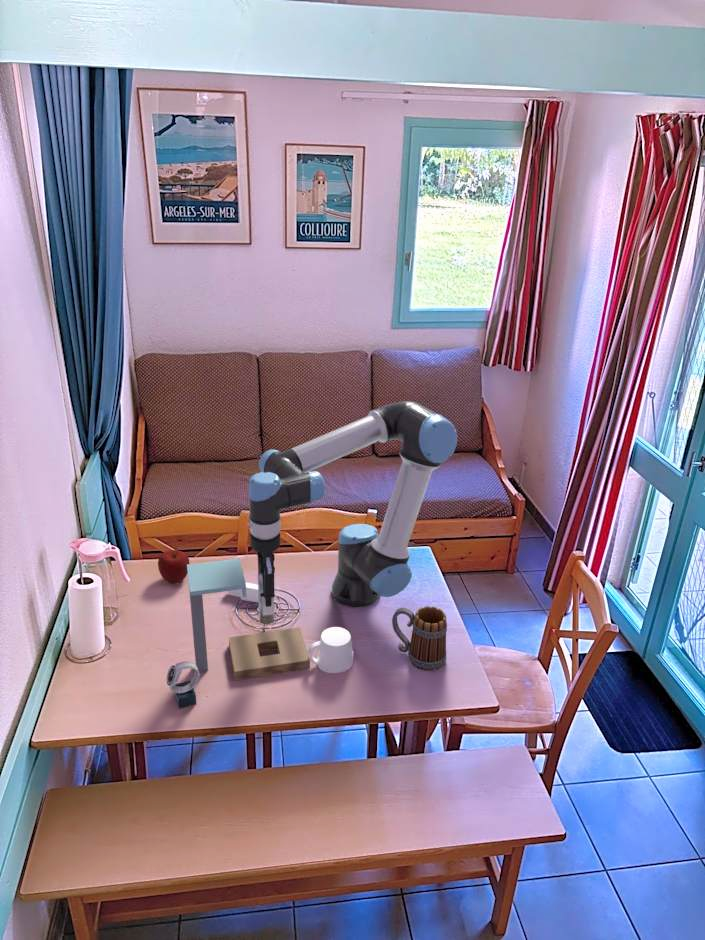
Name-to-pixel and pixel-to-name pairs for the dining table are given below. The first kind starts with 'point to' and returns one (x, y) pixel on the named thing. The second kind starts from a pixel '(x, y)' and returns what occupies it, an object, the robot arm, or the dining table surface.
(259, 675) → the socket board
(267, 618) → the peg
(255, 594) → the napkin holder
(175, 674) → the watch
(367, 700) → the dining table surface
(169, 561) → the apple
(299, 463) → the robot arm
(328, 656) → the mug
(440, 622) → the mug
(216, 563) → the light blue l-shaped bracket
